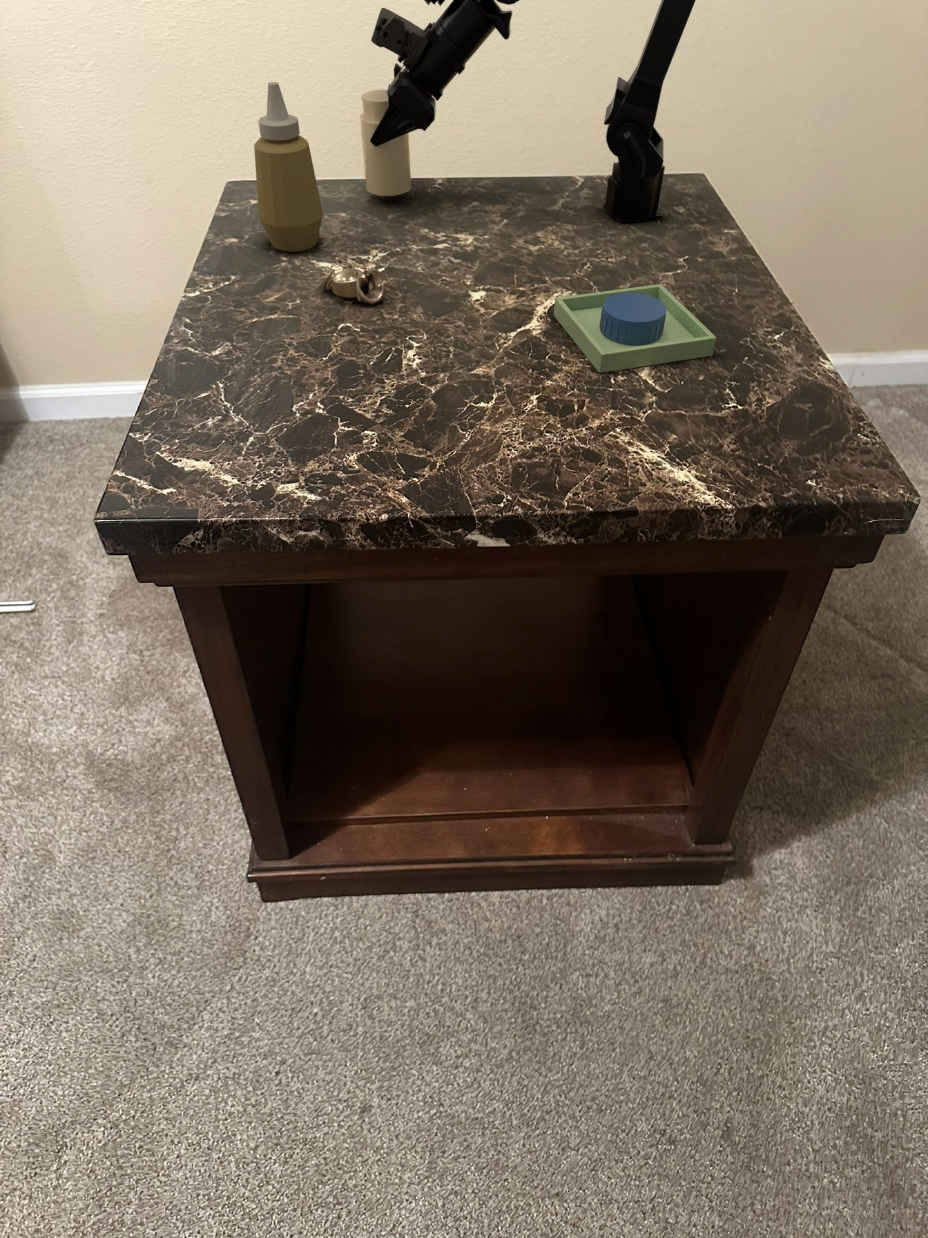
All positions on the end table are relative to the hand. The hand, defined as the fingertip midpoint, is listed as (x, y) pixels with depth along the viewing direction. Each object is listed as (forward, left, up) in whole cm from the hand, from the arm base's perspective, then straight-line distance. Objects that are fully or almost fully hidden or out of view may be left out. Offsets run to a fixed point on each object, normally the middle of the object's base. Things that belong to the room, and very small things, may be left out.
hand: (375, 135), depth 112 cm
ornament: (+9, +28, -8) cm, 31 cm away
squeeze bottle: (+14, +12, -8) cm, 20 cm away
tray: (-18, +46, -8) cm, 50 cm away
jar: (-1, +1, -7) cm, 7 cm away
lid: (-18, +46, -5) cm, 50 cm away
